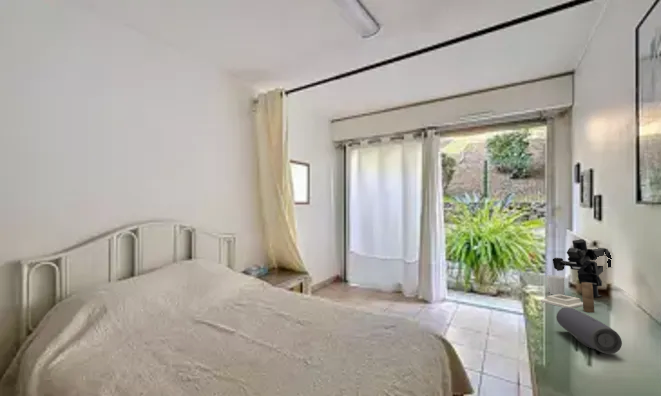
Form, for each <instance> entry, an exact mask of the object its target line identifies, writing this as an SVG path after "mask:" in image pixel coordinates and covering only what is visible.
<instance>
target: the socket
mask: <svg viewBox="0 0 661 396" xmlns="http://www.w3.org/2000/svg"><path fill="white" fill-rule="evenodd" d="M540 302H541V303H544V302H545V304H548V305H553V306H556V307H560V308H566V307H568V308H572V309H576V308H580V307H583V301H581V298H579V297H574V296H570V295H565V294H564V295H562V294H556V295H551V294H550V295H546V298H542V299H540Z"/></svg>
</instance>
